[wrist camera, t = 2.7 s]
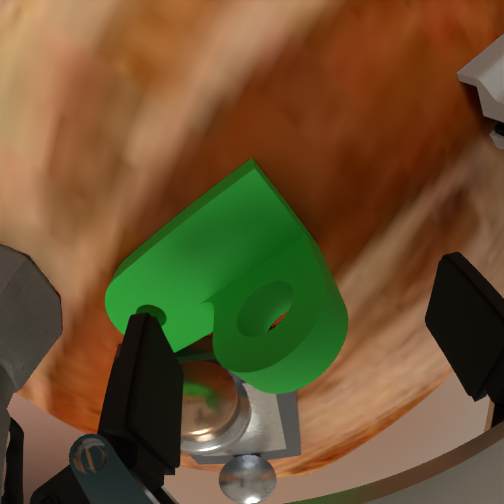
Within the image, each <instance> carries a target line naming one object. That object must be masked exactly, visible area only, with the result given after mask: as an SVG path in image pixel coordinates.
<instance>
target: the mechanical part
mask: <svg viewBox="0 0 504 504" xmlns="http://www.w3.org/2000/svg"><path fill="white" fill-rule="evenodd" d="M151 305H154V306H157V307H154V306H151ZM105 307H106V311H107V314H108V316H109V318H110V320H111V321H112V323H113V324H114V325H115V326H116V328H117V329H118V330H119V331H120V332H122V333H123V334H124V335H125V331H126V328H127V324H128V321H129V318H130V316H131V315H132V314H139V313H146V312H148V313H150V315H151V316H156V317H157V319H158V321H159V323H160V325H161V327H162V330H163V332H164V334H165V336H166V338H167V340H168V342H169V344H170V346H171V348H172V350H173V352H174V353H175V352H177V351H179V350H181V349H183V348H185V347H186V346H188V345H190V344H192V343H194V342H195V341H197V340H199V339H201V338H202V337H204V336H206V335H208V334H210V333H211V332H213V350H214V354H215V356H216V358H217V360H218V361H219V363H220V364H221V365H222V366H224V367H225V368H226V369H228V370H229V371H231V372H232V373H233V374H235V375H236V376H238V377H239V378H241V379H242V380H244V381H245V382H247V383H248V384H250V385H251V386H253V387H254V388H256V389H258V390H259V391H262V392H265V393H270V394H283V393H288V392H292V391H295V390H298V389H300V388H303V387H304V386H306V385H308V384H310V383H311V382H313V381H314V380H315V379H317V378H318V377H319V376H320V375H321V374H322V373H323V372H325V371H326V369H327V368H328V367H329V366H330V365H331V364H332V362H333V361H334V360H335V358H336V357H337V355H338V353H339V352H340V350H341V348H342V346H343V343H344V341H345V337H346V334H347V329H348V313H347V309H346V306H345V304H344V301H343V299H342V297H341V294H340V292H339V290H338V288H337V285H336V283H335V281H334V279H333V276H332V274H331V272H330V270H329V268H328V265H327V263H326V261H325V259H324V257H323V254H322V252H321V250H320V248H319V246H318V244H317V243H316V241H315V240H314V239H313V237H312V236H311V234H310V233H309V232H308V230H307V229H306V228H305V226H304V225H303V224H302V222H301V221H300V219H299V218H298V217H297V215H296V214H295V213H294V211H293V210H292V209H291V207H290V206H289V205H288V203H287V202H286V201H285V199H284V198H283V197H282V195H281V194H280V193H279V192H278V190H277V189H276V188H275V186H274V185H273V184H272V182H271V181H270V180H269V179H268V177H267V176H266V175H265V173H264V172H263V171H262V170H261V168H260V167H259V166H258V165H257V163H256V162H255V161H254V159H253V158H251V159H250V160H248V161H247V162H246V163H244V164H243V165H242V166H240V167H239V168H238V169H236V170H235V171H233V172H232V173H231V174H229V175H228V176H227V177H225V178H224V179H223V180H222V181H220V182H219V183H218V184H216V185H215V186H214V187H212V188H211V189H210V190H208V191H207V192H206V193H205V194H203V195H202V196H201V197H199V198H198V199H197V200H196V201H194V202H193V203H192V204H191V205H189V206H188V207H187V208H186V209H184V210H183V211H182V212H181V213H179V214H178V215H177V216H176V217H174V218H173V219H172V220H171V221H169V222H168V223H167V224H166V225H165V226H163V227H162V228H161V229H160V230H159V231H157V232H156V233H155V234H154V235H153V236H151V237H150V238H149V239H148V240H147V241H145V242H144V243H143V244H142V245H141V246H140V247H138V248H137V249H136V250H135V251H134V252H133V253H132V254H130V255H129V256H128V257H127V258H126V259H125V260H124V261H123V262H122V263H121V264H120V265H119V267H118V268H117V270H116V272H115V274H114V276H113V278H112V280H111V282H110V285H109V287H108V289H107V291H106V295H105ZM287 311H288V313H287V315H286V316H285V317H284V319H283V320H282V321H281V322H280V323H279V324H278V325H277V326H276V327H275V328H273V329H272V330H270V331H269V332H267V331H268V329H269V328H270V326H271V325H272V324H273V322H274V321H275V320H276V319H277V318H278V317H279V316H281V315H282V314H283V313H285V312H287Z"/></svg>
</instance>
